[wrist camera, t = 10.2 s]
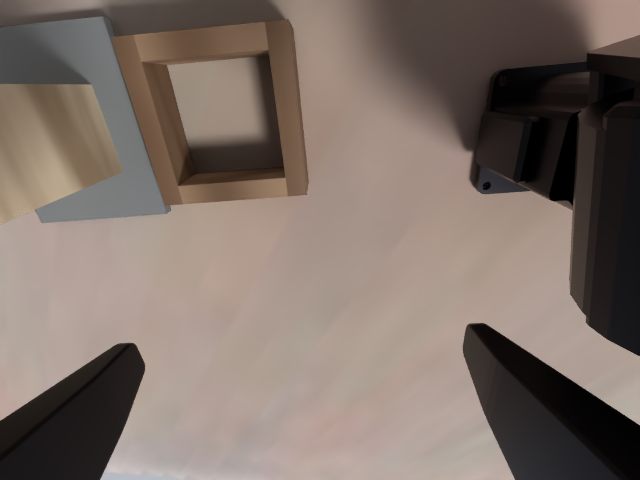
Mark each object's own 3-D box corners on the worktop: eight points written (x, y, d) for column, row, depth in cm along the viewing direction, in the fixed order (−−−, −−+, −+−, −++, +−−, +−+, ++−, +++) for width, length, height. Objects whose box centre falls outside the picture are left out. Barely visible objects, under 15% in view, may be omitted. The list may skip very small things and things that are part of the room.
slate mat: (110, 18, 15) (102, 16, 15) (170, 210, 20) (166, 213, 19) (-45, 34, 15) (-58, 32, 15) (49, 219, 20) (41, 223, 19)
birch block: (91, 84, 16) (-99, 83, 9) (123, 171, 18) (-11, 228, 11) (7, 92, 16) (-247, 97, 9) (48, 177, 18) (-132, 237, 11)
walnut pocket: (293, 29, 15) (288, 19, 13) (308, 181, 19) (306, 194, 16) (141, 44, 16) (110, 37, 13) (183, 191, 19) (165, 205, 17)
